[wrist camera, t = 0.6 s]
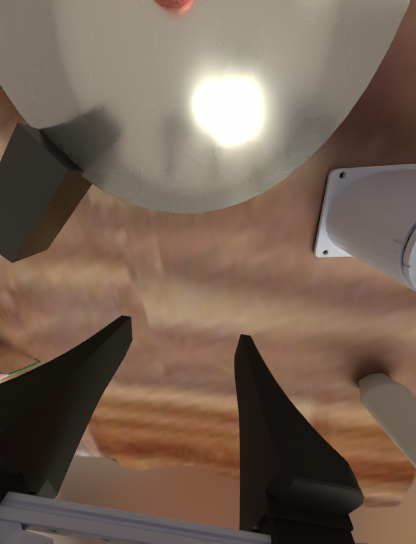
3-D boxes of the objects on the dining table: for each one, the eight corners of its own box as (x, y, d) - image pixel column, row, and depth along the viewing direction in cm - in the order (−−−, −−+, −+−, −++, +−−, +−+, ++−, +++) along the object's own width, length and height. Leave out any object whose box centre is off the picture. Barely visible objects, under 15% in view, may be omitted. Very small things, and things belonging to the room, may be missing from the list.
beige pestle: (354, 369, 27) (458, 517, 15) (399, 366, 26) (548, 520, 14) (349, 395, 29) (436, 540, 17) (391, 393, 28) (512, 544, 16)
